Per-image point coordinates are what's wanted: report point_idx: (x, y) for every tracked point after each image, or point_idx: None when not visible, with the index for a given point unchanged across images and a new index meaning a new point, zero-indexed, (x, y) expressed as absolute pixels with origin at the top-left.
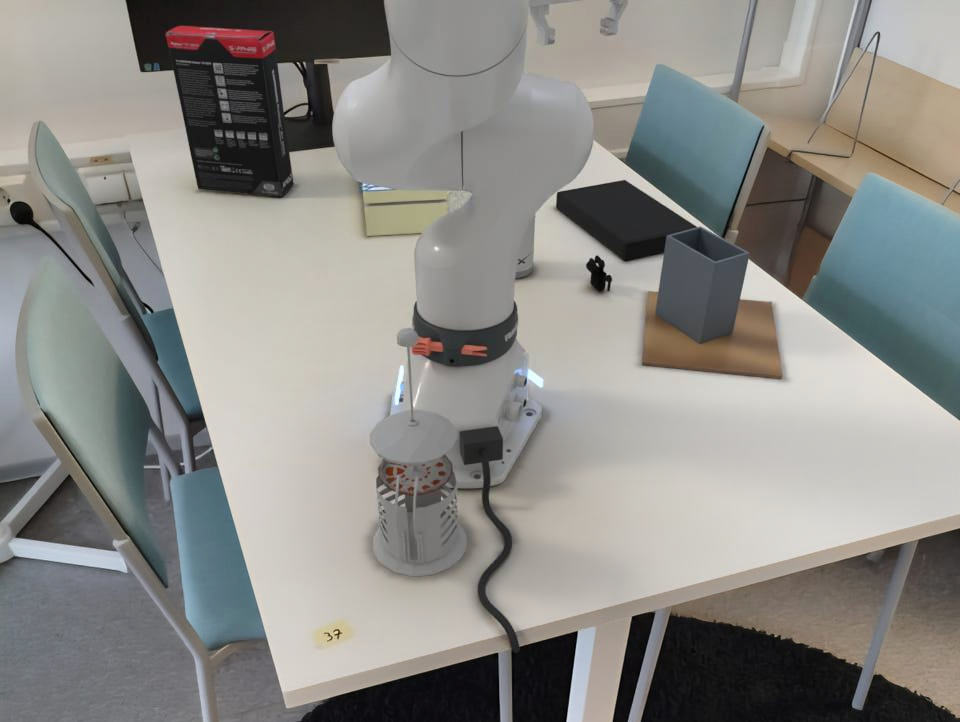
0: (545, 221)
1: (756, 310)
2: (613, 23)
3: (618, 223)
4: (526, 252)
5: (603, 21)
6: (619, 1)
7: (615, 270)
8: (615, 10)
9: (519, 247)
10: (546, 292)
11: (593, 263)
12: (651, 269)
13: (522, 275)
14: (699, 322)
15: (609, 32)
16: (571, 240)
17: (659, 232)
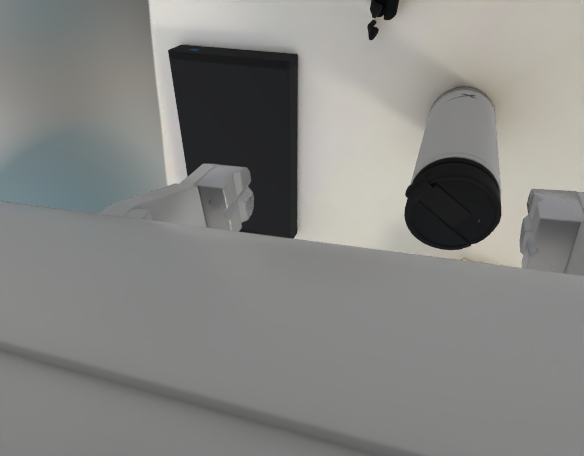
0: (329, 211)
1: None
2: (206, 179)
3: (264, 125)
4: (459, 99)
5: (233, 218)
6: (141, 218)
7: (325, 36)
8: (169, 220)
9: (473, 104)
10: (465, 23)
11: (389, 1)
12: (275, 11)
13: (467, 87)
14: None
15: (235, 168)
16: (329, 149)
17: (226, 70)
